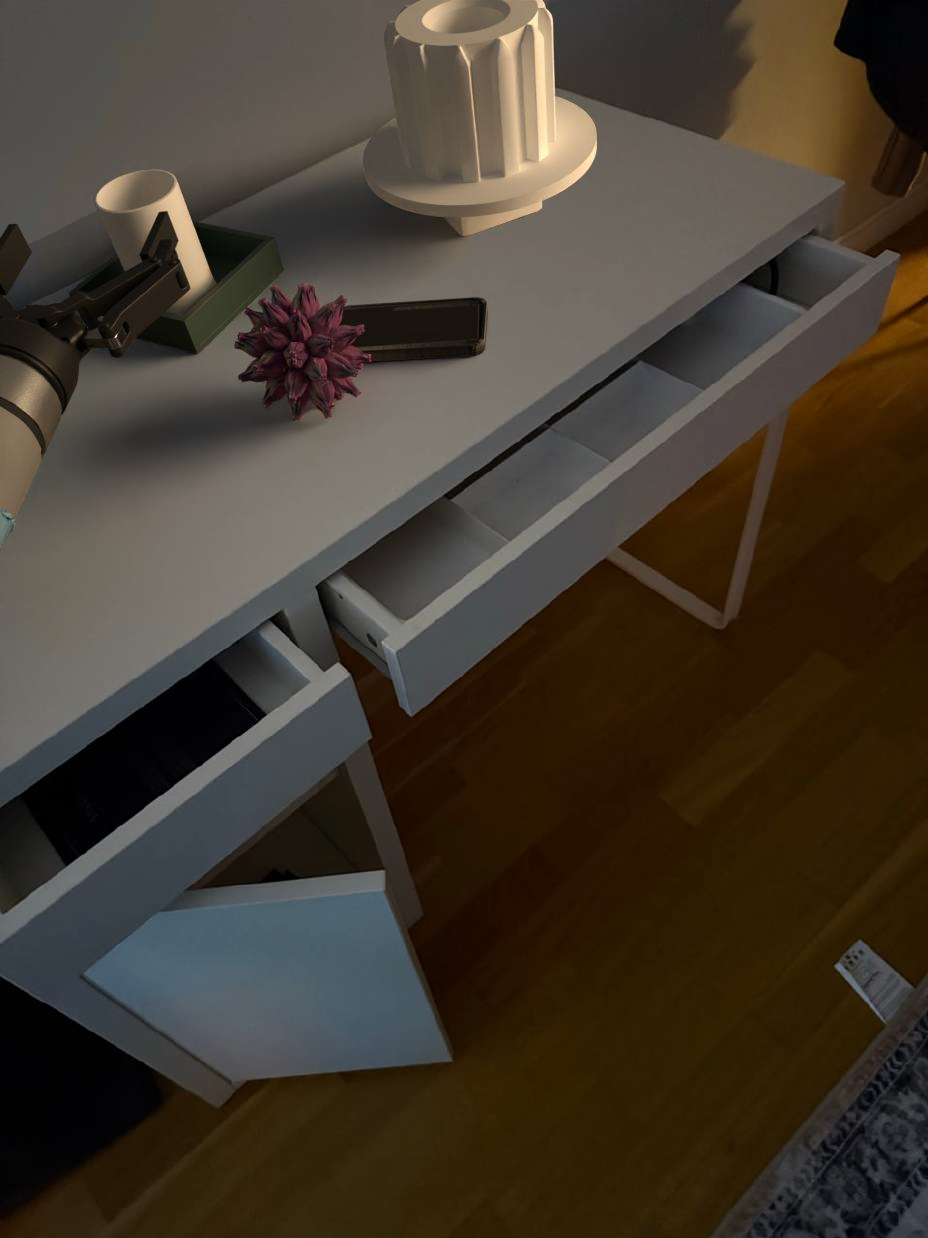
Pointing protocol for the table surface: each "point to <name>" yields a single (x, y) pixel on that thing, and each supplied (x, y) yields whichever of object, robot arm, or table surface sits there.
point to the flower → (302, 351)
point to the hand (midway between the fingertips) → (94, 231)
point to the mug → (131, 217)
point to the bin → (240, 278)
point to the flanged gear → (476, 115)
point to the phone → (419, 328)
